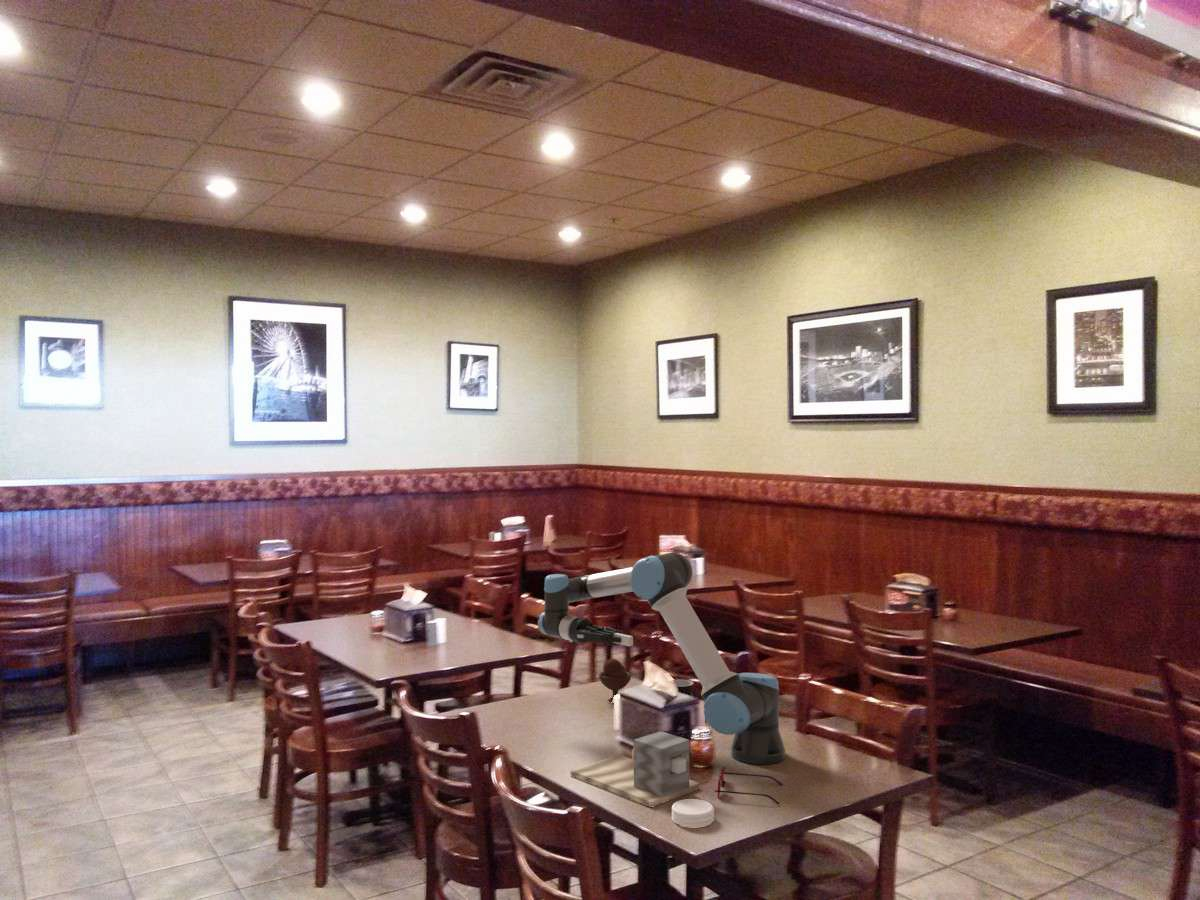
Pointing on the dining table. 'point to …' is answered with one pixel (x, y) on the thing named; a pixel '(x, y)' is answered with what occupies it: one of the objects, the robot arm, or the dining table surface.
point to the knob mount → (644, 770)
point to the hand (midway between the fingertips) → (631, 641)
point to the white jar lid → (692, 812)
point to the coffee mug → (685, 686)
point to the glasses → (722, 782)
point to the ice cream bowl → (614, 676)
